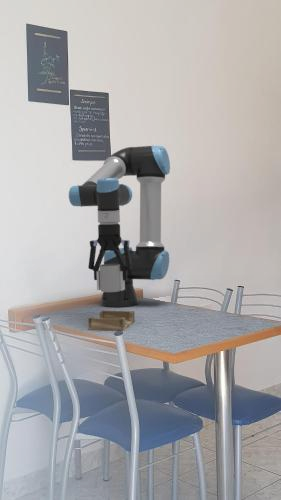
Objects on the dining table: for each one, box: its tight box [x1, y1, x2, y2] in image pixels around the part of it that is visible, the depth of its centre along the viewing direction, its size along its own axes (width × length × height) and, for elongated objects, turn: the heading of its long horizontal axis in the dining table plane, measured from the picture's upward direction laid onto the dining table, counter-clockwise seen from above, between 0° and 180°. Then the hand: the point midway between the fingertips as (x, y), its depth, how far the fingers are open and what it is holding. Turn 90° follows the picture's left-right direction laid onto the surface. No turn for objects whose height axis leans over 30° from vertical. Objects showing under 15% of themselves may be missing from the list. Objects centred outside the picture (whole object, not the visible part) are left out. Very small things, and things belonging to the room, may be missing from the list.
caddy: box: [87, 310, 135, 331], centre depth 224 cm, size 15×12×4 cm
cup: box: [99, 263, 121, 293], centre depth 223 cm, size 7×10×9 cm
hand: (110, 289), depth 223 cm, fingers closed on cup, 8 cm apart
